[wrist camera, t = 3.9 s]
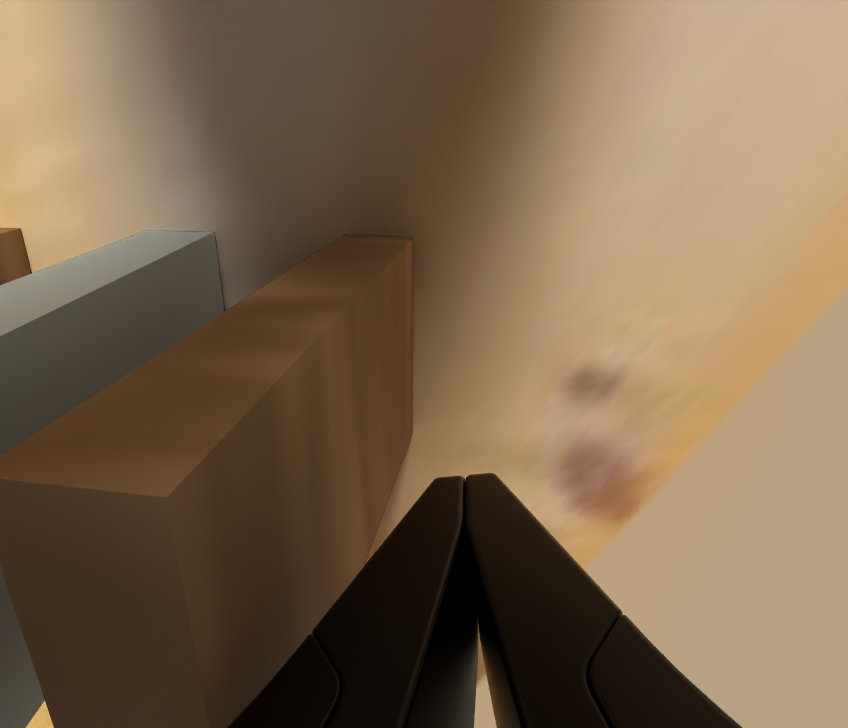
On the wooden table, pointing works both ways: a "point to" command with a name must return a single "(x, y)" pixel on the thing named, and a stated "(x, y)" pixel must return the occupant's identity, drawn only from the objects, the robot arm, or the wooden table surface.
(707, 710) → the robot arm
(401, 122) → the wooden table surface
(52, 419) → the domino
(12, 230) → the domino
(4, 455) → the domino
